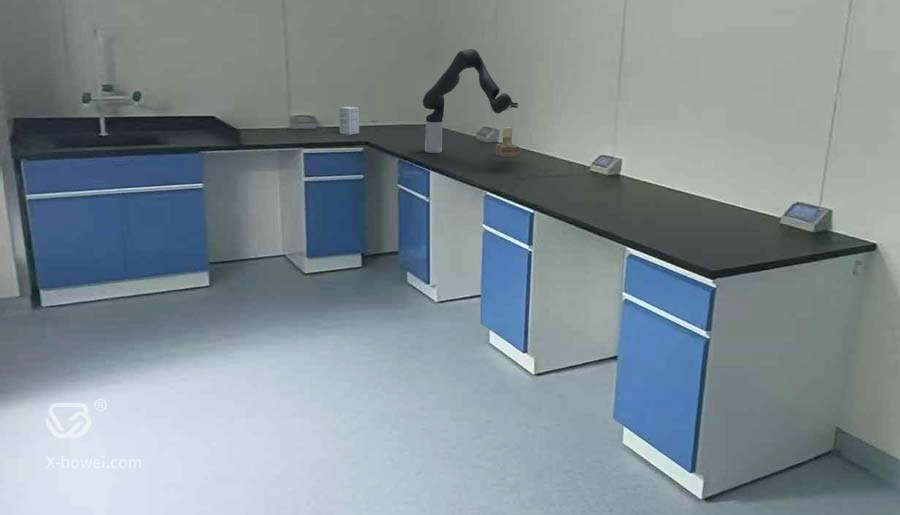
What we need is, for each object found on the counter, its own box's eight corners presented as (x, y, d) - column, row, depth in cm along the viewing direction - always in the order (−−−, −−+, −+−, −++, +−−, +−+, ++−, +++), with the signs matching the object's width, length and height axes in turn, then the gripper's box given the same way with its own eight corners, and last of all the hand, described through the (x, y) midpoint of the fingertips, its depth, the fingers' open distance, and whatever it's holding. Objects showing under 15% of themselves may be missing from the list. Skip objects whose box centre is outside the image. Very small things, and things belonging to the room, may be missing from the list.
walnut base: (518, 157, 412) (518, 146, 410) (501, 157, 409) (502, 146, 407) (511, 154, 421) (512, 143, 419) (495, 154, 418) (495, 144, 416)
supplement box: (349, 132, 490) (348, 106, 485) (359, 133, 485) (359, 107, 480) (339, 133, 483) (338, 107, 478) (349, 134, 478) (349, 108, 473)
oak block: (510, 145, 411) (511, 127, 408) (502, 145, 412) (503, 127, 409) (511, 144, 415) (512, 126, 412) (503, 144, 416) (504, 126, 413)
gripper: (517, 97, 381) (519, 98, 397) (490, 94, 383) (493, 95, 398) (516, 112, 383) (517, 112, 398) (488, 109, 384) (491, 109, 400)
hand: (505, 104), depth 398 cm, fingers open, 8 cm apart
